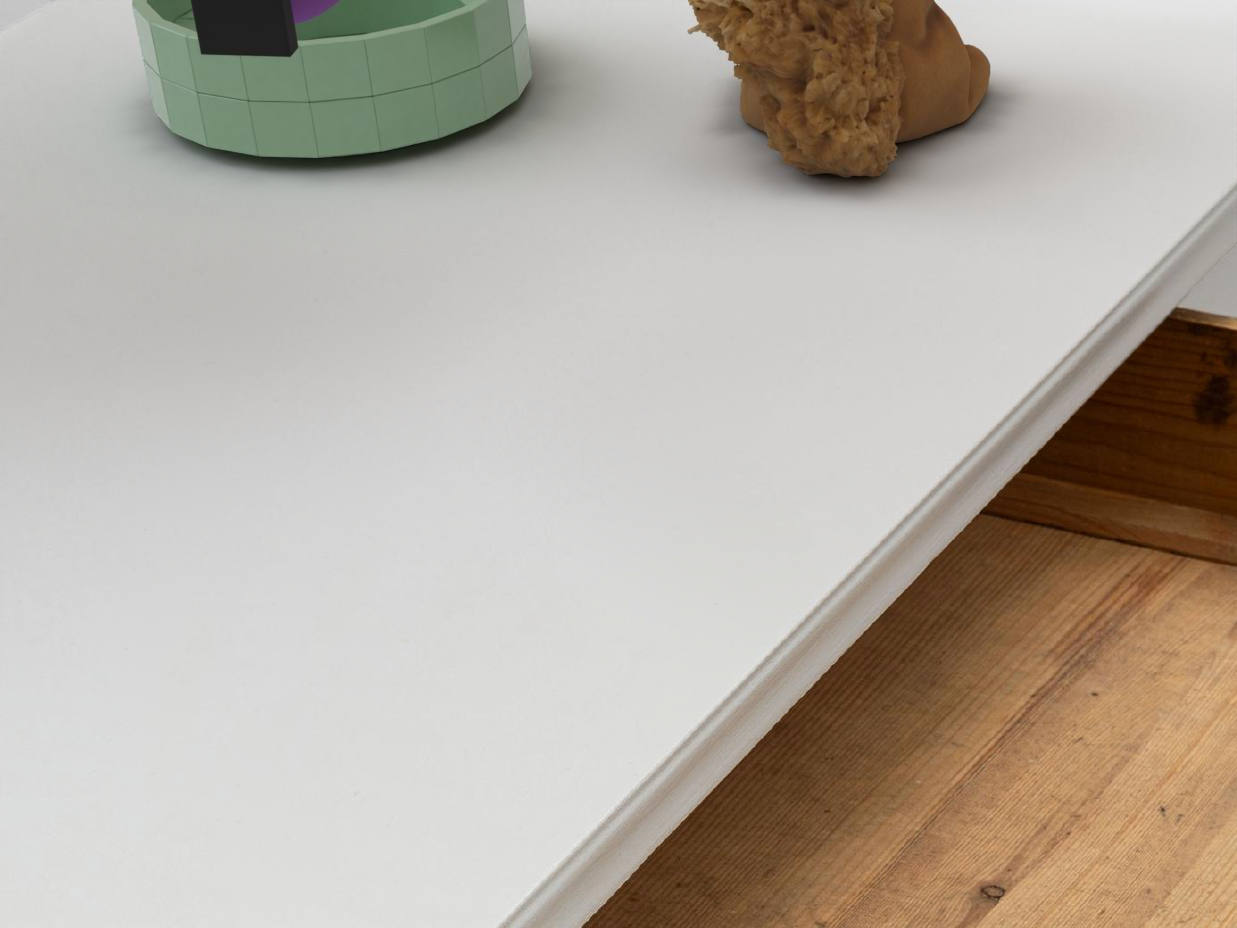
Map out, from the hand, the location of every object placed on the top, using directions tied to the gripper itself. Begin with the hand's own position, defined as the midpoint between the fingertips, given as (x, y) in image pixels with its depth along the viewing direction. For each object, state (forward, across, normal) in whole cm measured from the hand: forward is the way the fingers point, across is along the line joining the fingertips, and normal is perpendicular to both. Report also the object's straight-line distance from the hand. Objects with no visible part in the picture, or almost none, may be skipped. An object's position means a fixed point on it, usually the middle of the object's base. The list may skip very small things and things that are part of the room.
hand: (284, 9), depth 78 cm
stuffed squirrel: (+13, +22, -13) cm, 29 cm away
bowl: (+13, +25, +8) cm, 29 cm away
